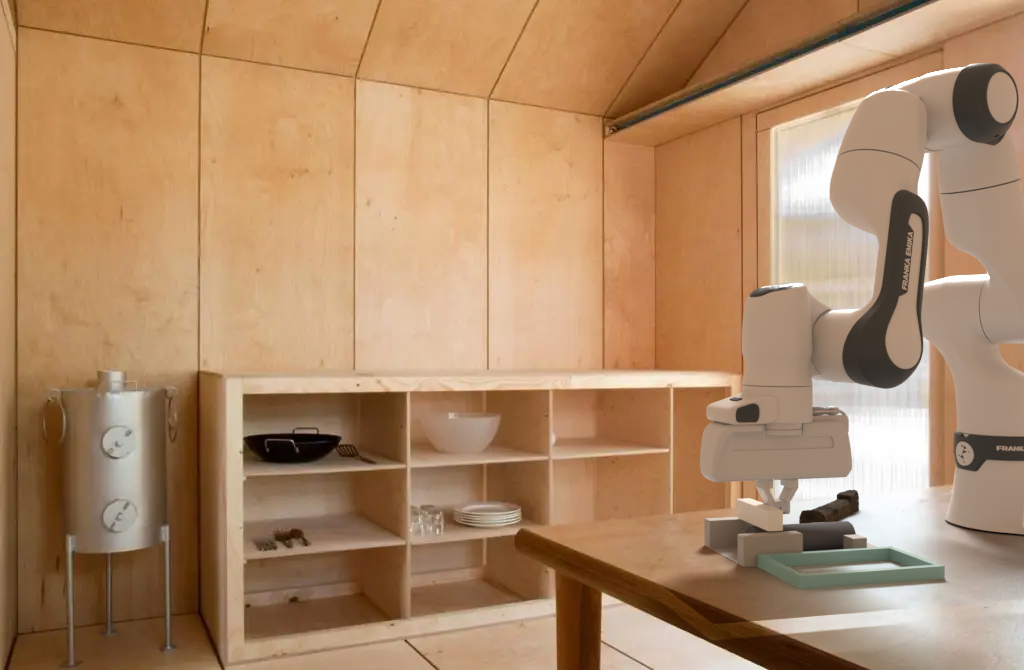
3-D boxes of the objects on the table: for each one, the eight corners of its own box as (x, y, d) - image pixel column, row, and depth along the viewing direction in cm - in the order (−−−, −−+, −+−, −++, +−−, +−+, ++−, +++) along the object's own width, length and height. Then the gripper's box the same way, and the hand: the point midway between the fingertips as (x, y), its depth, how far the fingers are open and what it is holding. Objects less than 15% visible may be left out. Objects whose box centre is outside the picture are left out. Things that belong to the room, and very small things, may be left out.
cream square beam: (750, 516, 115) (750, 498, 115) (782, 530, 107) (782, 510, 107) (736, 517, 115) (736, 498, 115) (768, 531, 107) (768, 511, 107)
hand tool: (824, 538, 125) (824, 507, 125) (798, 534, 128) (798, 503, 128) (874, 519, 139) (874, 490, 139) (849, 515, 142) (849, 487, 142)
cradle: (849, 545, 120) (849, 510, 120) (901, 565, 109) (901, 527, 109) (704, 554, 115) (704, 518, 115) (743, 576, 105) (743, 537, 105)
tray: (891, 566, 109) (891, 546, 109) (944, 588, 100) (944, 566, 100) (757, 575, 105) (757, 554, 105) (800, 599, 95) (799, 576, 95)
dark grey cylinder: (840, 544, 116) (840, 518, 116) (856, 550, 112) (856, 524, 112) (745, 550, 113) (745, 523, 113) (758, 557, 109) (758, 529, 109)
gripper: (833, 404, 117) (833, 505, 117) (694, 406, 112) (694, 512, 112) (862, 408, 111) (862, 515, 111) (716, 410, 106) (716, 522, 106)
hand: (776, 513), depth 112 cm, fingers closed
